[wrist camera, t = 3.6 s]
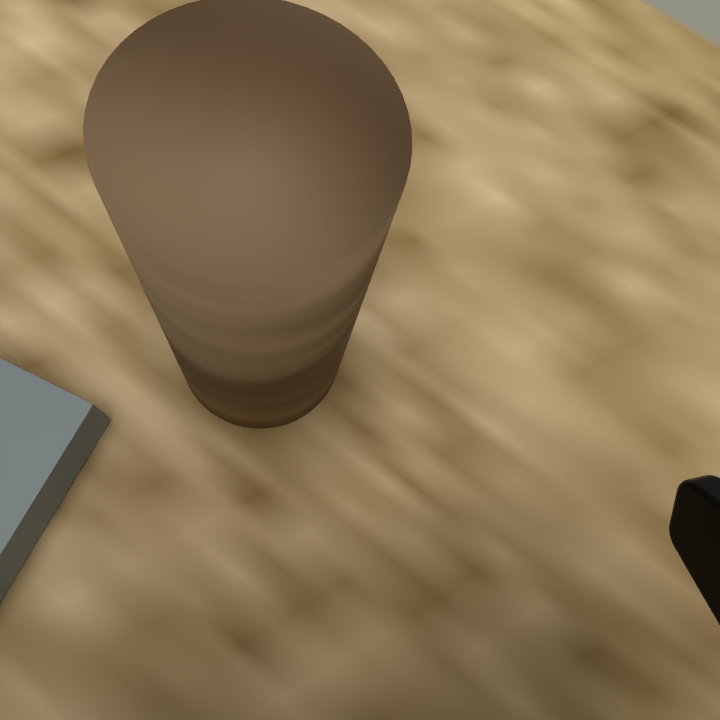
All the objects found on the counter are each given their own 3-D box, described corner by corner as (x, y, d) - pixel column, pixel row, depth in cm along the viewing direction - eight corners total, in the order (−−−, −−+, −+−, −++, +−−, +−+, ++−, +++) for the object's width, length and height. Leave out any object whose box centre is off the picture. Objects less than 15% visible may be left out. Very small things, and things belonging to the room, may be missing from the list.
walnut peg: (296, 455, 21) (327, 338, 10) (151, 384, 21) (15, 183, 10) (364, 320, 23) (460, 81, 11) (228, 253, 23) (188, -52, 11)
